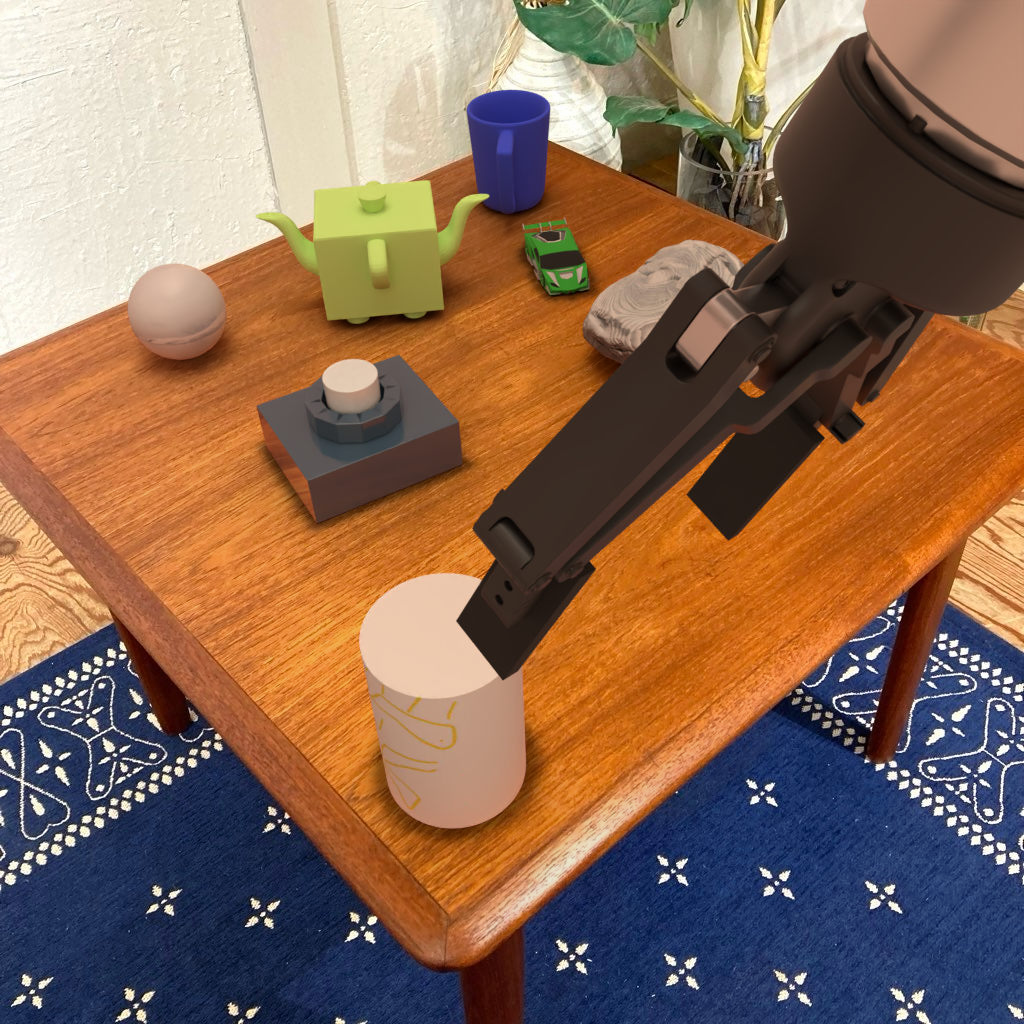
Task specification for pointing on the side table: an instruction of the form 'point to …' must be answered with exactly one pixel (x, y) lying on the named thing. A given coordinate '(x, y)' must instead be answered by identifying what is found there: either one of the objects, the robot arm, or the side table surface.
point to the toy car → (556, 258)
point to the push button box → (360, 441)
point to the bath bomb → (177, 311)
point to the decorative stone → (650, 295)
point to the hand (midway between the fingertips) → (610, 574)
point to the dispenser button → (351, 386)
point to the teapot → (377, 248)
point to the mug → (509, 147)
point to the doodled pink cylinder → (441, 706)
